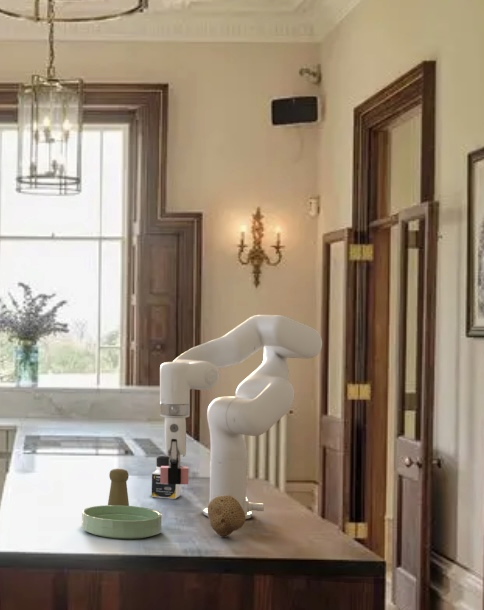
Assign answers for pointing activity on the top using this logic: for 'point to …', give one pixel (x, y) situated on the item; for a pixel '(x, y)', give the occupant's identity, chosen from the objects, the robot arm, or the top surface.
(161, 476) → the eraser
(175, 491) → the medicine bottle
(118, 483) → the cork
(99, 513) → the bowl
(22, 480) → the top surface
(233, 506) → the natural sponge
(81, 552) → the top surface
